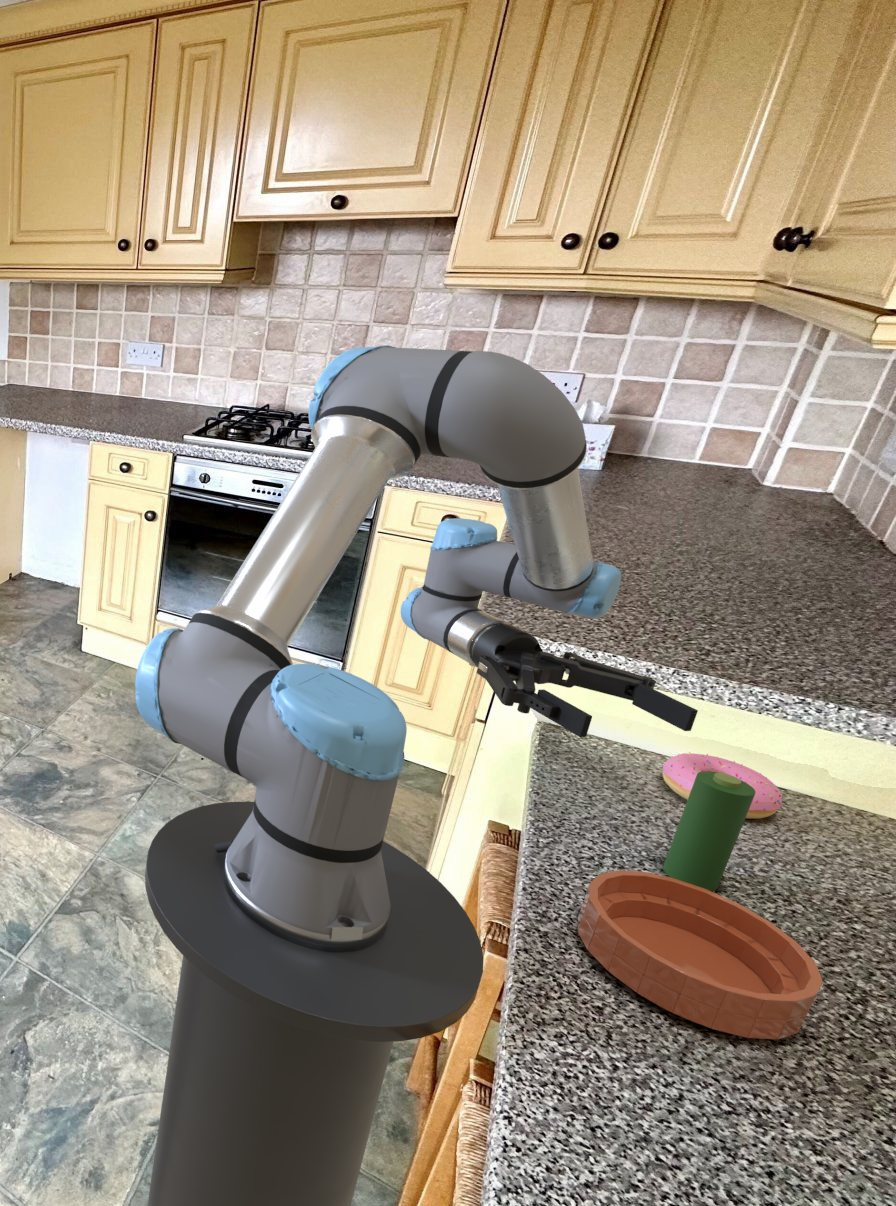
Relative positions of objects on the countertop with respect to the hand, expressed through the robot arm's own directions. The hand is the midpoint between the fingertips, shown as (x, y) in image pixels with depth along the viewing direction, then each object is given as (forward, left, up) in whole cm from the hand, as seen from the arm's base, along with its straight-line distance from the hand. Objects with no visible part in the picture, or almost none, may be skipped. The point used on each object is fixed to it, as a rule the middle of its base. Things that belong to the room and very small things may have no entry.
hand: (639, 724), depth 89 cm
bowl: (+5, -25, -13) cm, 29 cm away
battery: (+7, -7, -13) cm, 17 cm away
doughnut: (+11, +15, -13) cm, 23 cm away
